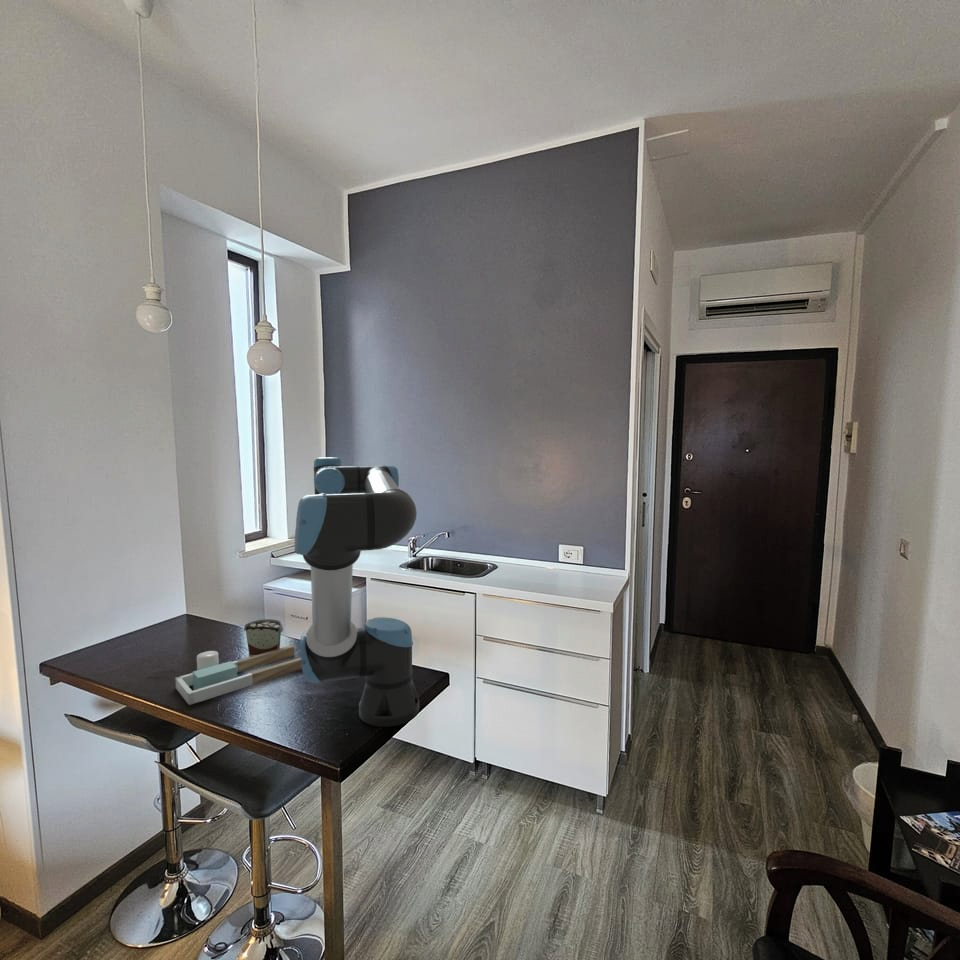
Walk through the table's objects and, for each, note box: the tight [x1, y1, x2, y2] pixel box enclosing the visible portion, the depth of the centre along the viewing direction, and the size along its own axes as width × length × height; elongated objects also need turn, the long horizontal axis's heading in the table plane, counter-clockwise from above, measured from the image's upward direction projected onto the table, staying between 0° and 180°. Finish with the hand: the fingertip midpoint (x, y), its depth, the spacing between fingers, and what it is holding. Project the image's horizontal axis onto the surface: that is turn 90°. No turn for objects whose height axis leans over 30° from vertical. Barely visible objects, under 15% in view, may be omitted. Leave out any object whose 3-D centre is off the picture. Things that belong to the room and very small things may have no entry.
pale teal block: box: [212, 661, 238, 683], centre depth 150 cm, size 5×5×5 cm
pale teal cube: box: [192, 666, 218, 690], centre depth 146 cm, size 5×5×5 cm
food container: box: [243, 618, 284, 657], centre depth 171 cm, size 12×6×10 cm, turn 84°
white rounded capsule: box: [196, 650, 220, 671], centre depth 155 cm, size 6×6×6 cm
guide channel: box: [236, 645, 302, 686], centre depth 159 cm, size 12×17×3 cm
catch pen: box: [174, 660, 254, 706], centre depth 148 cm, size 12×16×3 cm
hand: (330, 591), depth 155 cm, fingers closed
